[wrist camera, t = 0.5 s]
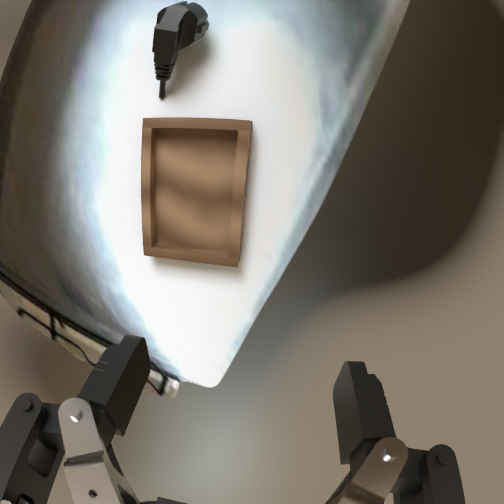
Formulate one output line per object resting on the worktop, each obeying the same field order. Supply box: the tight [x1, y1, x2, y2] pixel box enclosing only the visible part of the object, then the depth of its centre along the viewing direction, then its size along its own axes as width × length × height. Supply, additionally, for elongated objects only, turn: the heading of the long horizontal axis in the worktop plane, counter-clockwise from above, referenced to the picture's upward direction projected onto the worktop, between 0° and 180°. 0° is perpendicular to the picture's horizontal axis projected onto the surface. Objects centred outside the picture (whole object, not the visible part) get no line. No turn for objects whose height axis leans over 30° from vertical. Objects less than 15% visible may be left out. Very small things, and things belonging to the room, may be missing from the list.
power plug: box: [152, 1, 209, 98], centre depth 26 cm, size 6×8×12 cm
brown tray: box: [141, 118, 252, 267], centre depth 33 cm, size 17×12×2 cm
